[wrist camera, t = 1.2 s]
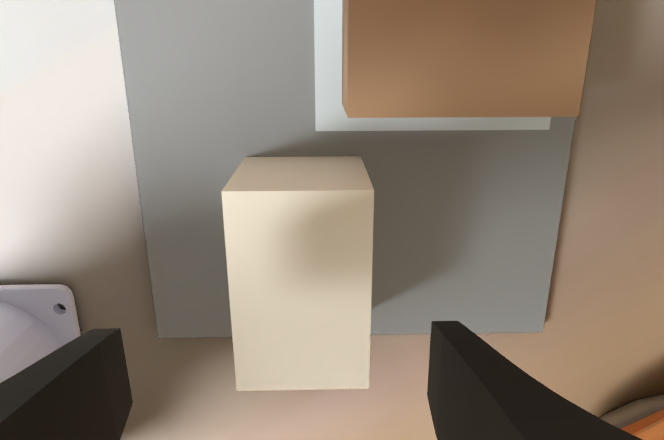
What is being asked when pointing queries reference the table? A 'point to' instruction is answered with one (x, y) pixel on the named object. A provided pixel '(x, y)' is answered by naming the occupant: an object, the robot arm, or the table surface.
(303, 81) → the gray mat
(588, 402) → the table surface
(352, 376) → the cream block
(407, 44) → the walnut block
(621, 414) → the brown layered disc
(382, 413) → the table surface
